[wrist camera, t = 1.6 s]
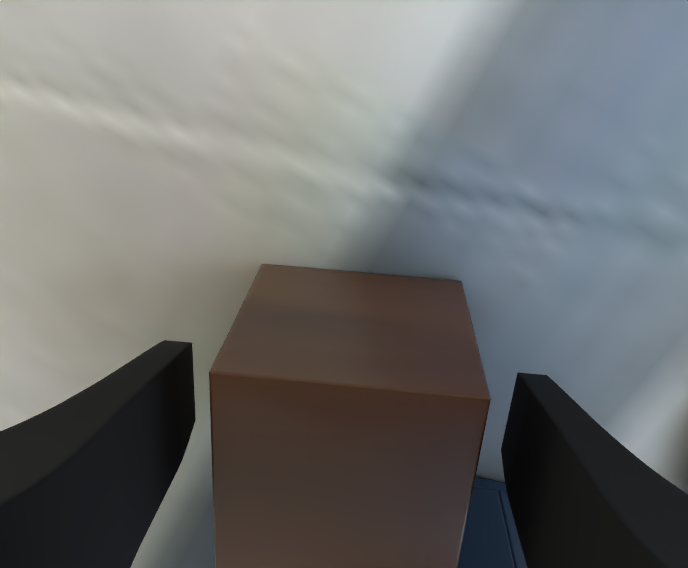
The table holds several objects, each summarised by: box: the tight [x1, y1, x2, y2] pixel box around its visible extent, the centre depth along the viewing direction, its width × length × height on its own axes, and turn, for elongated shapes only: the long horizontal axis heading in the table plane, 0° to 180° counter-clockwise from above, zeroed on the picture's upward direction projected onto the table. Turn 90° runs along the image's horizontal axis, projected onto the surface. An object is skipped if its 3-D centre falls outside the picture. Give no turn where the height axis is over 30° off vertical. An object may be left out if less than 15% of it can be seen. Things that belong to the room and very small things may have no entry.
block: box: [209, 264, 491, 568], centre depth 13 cm, size 4×4×4 cm
